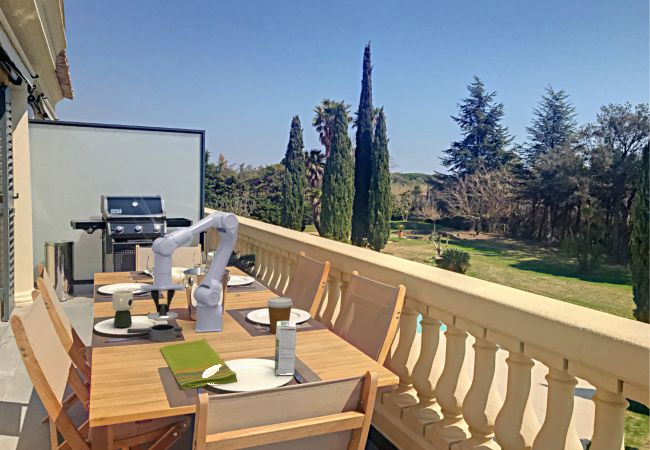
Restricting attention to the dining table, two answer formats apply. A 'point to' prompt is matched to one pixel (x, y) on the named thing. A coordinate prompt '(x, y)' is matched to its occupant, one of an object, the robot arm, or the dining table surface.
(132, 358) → the dining table surface
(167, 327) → the cooker base
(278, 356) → the syrup box
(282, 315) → the disposable coffee cup
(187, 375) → the dish towel
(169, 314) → the lid
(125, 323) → the character mug
